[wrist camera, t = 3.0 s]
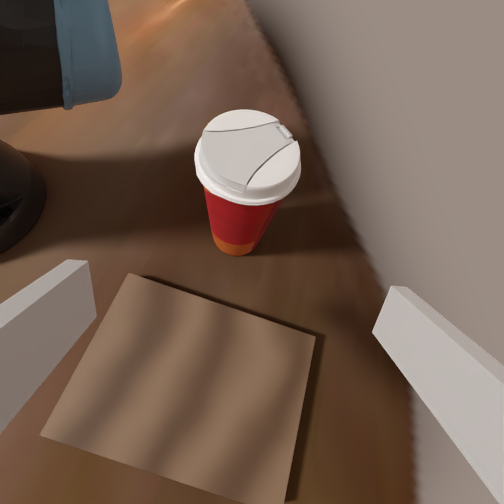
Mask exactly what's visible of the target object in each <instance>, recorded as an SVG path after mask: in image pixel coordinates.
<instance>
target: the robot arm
mask: <svg viewBox="0 0 504 504" xmlns="http://www.w3.org/2000/svg"><path fill="white" fill-rule="evenodd" d="M121 83H122V72H121V65H120V59H119V53H118V48H117V43H116V38H115V33H114V28H113V23H112V18H111V14H110V9H109V5H108V0H0V115H4V114H12V113H19V112H27V111H35V110H43V109H51V108H58V107H63V108H64V109H65V110H70V109H72V108H73V106H75V105H81V104H86V103H92V102H97V101H103V100H108V99H110V98H112V97H114V96H115V95H116V94H117V93H118V91H119V89H120V87H121ZM45 197H46V189H45V183H44V180H43V178H42V176H41V174H40V172H39V171H38V170H37V168H36V167H35V166H34V165H33V164H32V163H31V162H30V161H29V160H28V159H27V158H25V157H24V156H23V155H22V154H21V153H20V152H19V151H18V150H16V149H15V148H13V147H12V146H10V145H9V144H7V143H5V142H3V141H1V140H0V253H2V252H4V251H5V250H7V249H9V248H10V247H11V246H13V245H14V244H15V243H17V242H18V241H19V240H20V239H21V238H23V237H24V236H25V235H26V234H27V233H28V231H29V230H30V229H31V228H32V227H33V225H34V224H35V223H36V221H37V219H38V218H39V216H40V214H41V212H42V209H43V207H44V203H45ZM96 317H97V314H96V308H95V302H94V295H93V289H92V283H91V276H90V270H89V264H88V261H82V260H70V259H67V260H66V261H64V262H63V263H61V264H60V265H58V266H57V267H55V268H54V269H52V270H51V271H49V272H48V273H46V274H45V275H43V276H42V277H40V278H39V279H37V280H36V281H34V282H33V283H31V284H30V285H28V286H27V287H25V288H24V289H22V290H21V291H19V292H18V293H16V294H15V295H13V296H12V297H10V298H9V299H7V300H6V301H4V302H3V303H1V304H0V434H1V433H2V431H3V430H4V429H5V428H6V427H7V425H8V424H9V423H10V422H11V420H12V419H13V418H14V417H15V416H16V414H17V413H18V412H19V411H20V410H21V408H22V407H23V406H24V405H25V403H26V402H27V401H28V400H29V399H30V397H31V396H32V395H33V394H34V392H35V391H36V390H37V389H38V388H39V386H40V385H41V384H42V383H43V382H44V380H45V379H46V378H47V377H48V375H49V374H50V373H51V372H52V371H53V369H54V368H55V367H56V366H57V364H58V363H59V362H60V361H61V360H62V358H63V357H64V356H65V355H66V353H67V352H68V351H69V350H70V349H71V347H72V346H73V345H74V344H75V343H76V341H77V340H78V339H79V338H80V336H81V335H82V334H83V333H84V332H85V330H86V329H87V328H88V327H89V325H90V324H91V323H92V322H93V321H94V319H95V318H96ZM372 333H373V334H374V336H375V337H376V338H377V340H378V341H379V342H380V344H381V345H382V346H383V348H384V349H385V350H386V352H387V353H388V354H389V356H390V357H391V359H392V360H393V361H394V363H395V364H396V365H397V367H398V368H399V369H400V371H401V372H402V373H403V375H404V376H405V377H406V379H407V380H408V381H409V383H410V384H411V385H412V387H413V388H414V389H415V391H416V392H417V393H418V395H419V396H420V397H421V399H422V400H423V401H424V403H425V404H426V405H427V407H428V408H429V409H430V411H431V412H432V414H433V415H434V416H435V418H436V419H437V420H438V422H439V423H440V424H441V426H442V427H443V428H444V430H445V431H446V432H447V434H448V435H449V436H450V438H451V439H452V441H453V442H454V443H455V445H456V446H457V447H458V449H459V450H460V451H461V452H462V454H463V455H464V457H465V458H466V459H467V461H468V462H469V463H470V465H471V466H472V467H473V468H474V470H475V471H476V473H477V474H478V475H479V477H480V478H481V479H482V481H483V482H484V483H485V485H486V486H487V487H488V489H489V490H490V491H491V493H492V494H493V496H494V497H495V498H496V500H497V501H498V502H499V504H504V365H503V364H501V363H500V362H499V361H498V360H496V359H495V358H494V357H493V356H491V355H490V354H489V353H488V352H487V351H485V350H484V349H483V348H482V347H480V346H479V345H478V344H477V343H475V342H474V341H473V340H472V339H470V338H469V337H468V336H467V335H465V334H464V333H463V332H462V331H461V330H459V329H458V328H457V327H455V326H454V325H453V324H452V323H451V322H449V321H448V320H447V319H446V318H444V317H443V316H442V315H441V314H440V313H438V312H437V311H436V310H435V309H433V308H432V307H431V306H430V305H428V304H427V303H426V302H424V301H423V300H422V299H421V298H420V297H418V296H417V295H416V294H415V293H414V292H412V291H411V290H410V289H409V288H407V287H402V286H391V287H390V290H389V292H388V295H387V297H386V299H385V302H384V304H383V307H382V309H381V312H380V314H379V316H378V319H377V321H376V324H375V326H374V328H373V331H372Z"/></svg>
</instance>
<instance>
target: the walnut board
mask: <svg viewBox="0 0 504 504" xmlns="http://www.w3.org/2000/svg"><path fill="white" fill-rule="evenodd" d="M315 338H316V337H315V336H312V335H309V334H306V333H304V332H301V331H298V330H295V329H292V328H289V327H286V326H283V325H280V324H277V323H274V322H271V321H268V320H266V319H263V318H260V317H257V316H254V315H251V314H248V313H245V312H242V311H239V310H236V309H233V308H230V307H228V306H225V305H222V304H219V303H216V302H213V301H210V300H207V299H204V298H201V297H198V296H195V295H192V294H190V293H187V292H184V291H181V290H178V289H175V288H172V287H169V286H166V285H163V284H160V283H157V282H154V281H152V280H149V279H146V278H143V277H140V276H137V275H134V274H131V273H128V275H127V277H126V279H125V280H124V282H123V284H122V286H121V288H120V289H119V291H118V293H117V295H116V297H115V299H114V300H113V302H112V304H111V306H110V308H109V310H108V311H107V313H106V315H105V317H104V319H103V320H102V322H101V324H100V326H99V328H98V330H97V331H96V333H95V335H94V337H93V339H92V341H91V342H90V344H89V346H88V348H87V350H86V351H85V353H84V355H83V357H82V359H81V361H80V362H79V364H78V366H77V368H76V370H75V372H74V373H73V375H72V377H71V379H70V381H69V382H68V384H67V386H66V388H65V390H64V392H63V393H62V395H61V397H60V399H59V401H58V403H57V404H56V406H55V408H54V410H53V412H52V413H51V415H50V417H49V419H48V421H47V423H46V424H45V426H44V428H43V430H42V432H41V434H40V436H43V437H46V438H49V439H52V440H55V441H58V442H61V443H64V444H67V445H70V446H73V447H76V448H79V449H82V450H85V451H88V452H91V453H94V454H97V455H100V456H103V457H106V458H109V459H112V460H115V461H118V462H121V463H124V464H127V465H130V466H133V467H136V468H139V469H142V470H145V471H148V472H151V473H154V474H157V475H160V476H163V477H166V478H169V479H172V480H175V481H178V482H181V483H184V484H187V485H190V486H193V487H196V488H199V489H202V490H205V491H208V492H211V493H214V494H217V495H220V496H223V497H226V498H229V499H232V500H235V501H238V502H241V503H244V504H284V500H285V495H286V489H287V484H288V479H289V474H290V468H291V463H292V458H293V453H294V448H295V442H296V437H297V432H298V427H299V421H300V416H301V411H302V406H303V400H304V395H305V390H306V385H307V380H308V374H309V369H310V364H311V359H312V353H313V348H314V343H315Z"/></svg>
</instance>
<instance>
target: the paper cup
mask: <svg viewBox="0 0 504 504" xmlns="http://www.w3.org/2000/svg"><path fill="white" fill-rule="evenodd" d="M292 137H293V135H292V134H291V133H290V132H289V131H288V130H287V129H286V128H285V126H284V125H280V124H279V120H278V119H276V118H275V117H273V116H271V115H268V114H266V113H263V112H259V111H254V110H234V111H229V112H226V113H223V114H221V115H219V116H217V117H216V118H214V119H213V120H212V121H211V122H209V123H208V125H207V126H206V127H205V129H204V131H203V133H202V137H201V138H200V140H199V142H198V144H197V146H196V150H195V159H194V160H195V166H196V175H197V177H198V178H199V180H200V182H201V183H202V184H203V186H204V192H205V197H206V203H207V209H208V214H209V220H210V225H211V230H212V235H213V239H214V242H215V244H216V245H217V247H218V248H219V249H220V250H221V251H222V252H224V253H226V254H228V255H231V256H242V255H245V254H248V253H249V252H251V251H252V250H253V249H254V248H255V247H256V245H257V244H258V242H259V241H260V239H261V237H262V236H263V234H264V232H265V230H266V229H267V227H268V225H269V223H270V222H271V220H272V218H273V216H274V215H275V213H276V211H277V209H278V207H279V206H280V204H281V202H282V200H283V199H284V197H285V196H286V195H288V194H289V193H290V192H291V191H292V190H293V189H294V187H295V186H296V184H297V182H298V180H299V178H300V173H301V162H300V149H299V145H298V142H297V141H294V140H293V139H292Z"/></svg>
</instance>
